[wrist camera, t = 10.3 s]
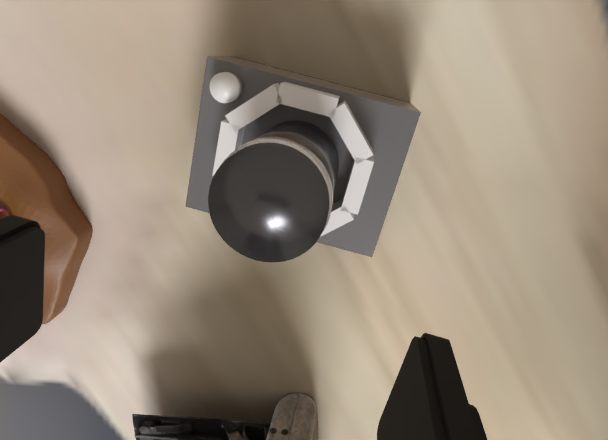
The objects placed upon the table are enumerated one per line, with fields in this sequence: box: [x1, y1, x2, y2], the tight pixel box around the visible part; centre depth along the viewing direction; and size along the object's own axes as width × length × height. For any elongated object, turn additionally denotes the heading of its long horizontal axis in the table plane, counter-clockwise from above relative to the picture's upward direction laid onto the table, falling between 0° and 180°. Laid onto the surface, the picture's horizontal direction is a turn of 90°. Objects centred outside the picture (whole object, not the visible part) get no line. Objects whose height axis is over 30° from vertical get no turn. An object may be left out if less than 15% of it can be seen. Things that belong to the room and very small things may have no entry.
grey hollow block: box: [186, 56, 421, 257], centre depth 27 cm, size 12×9×6 cm
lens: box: [208, 120, 339, 262], centre depth 22 cm, size 5×5×8 cm
